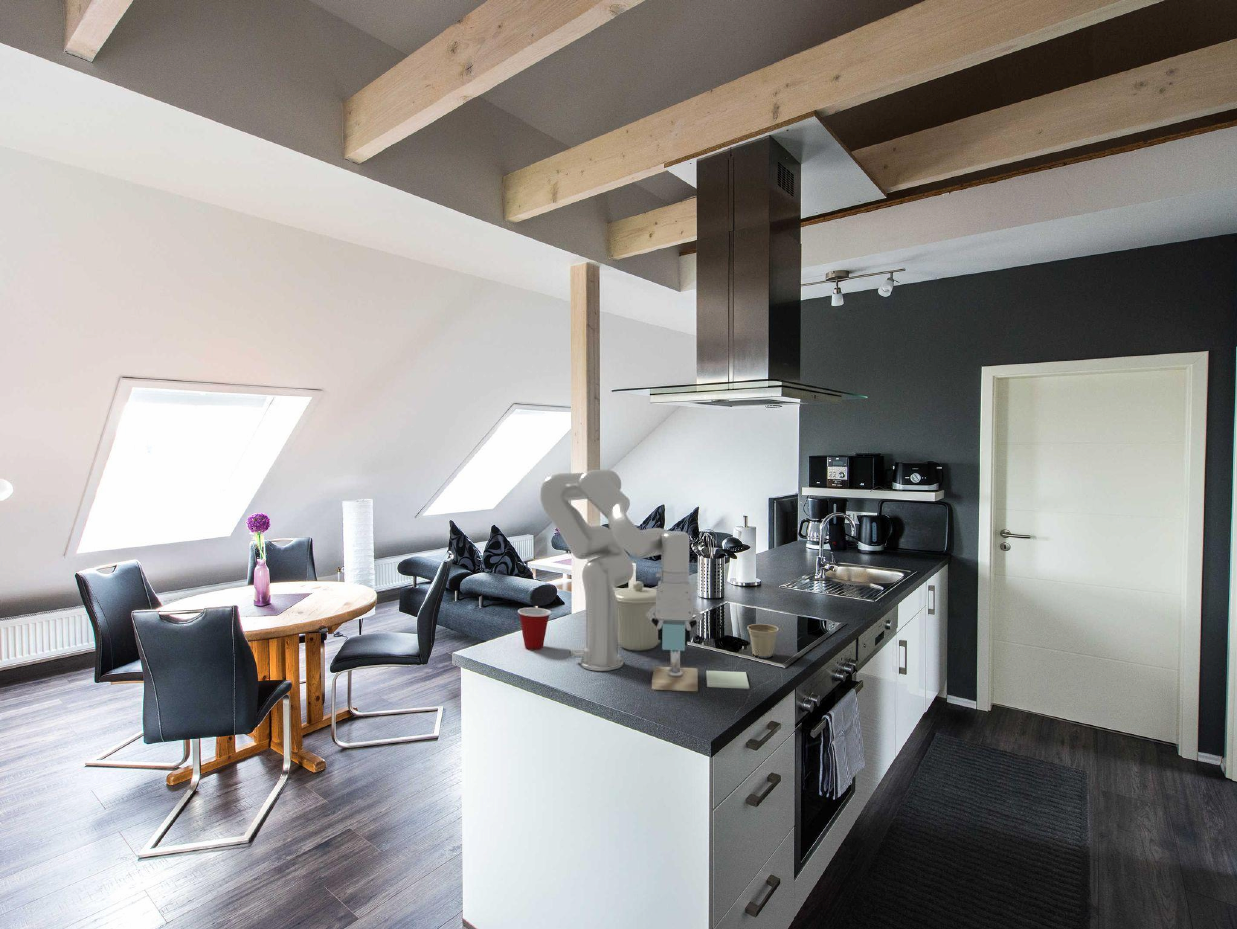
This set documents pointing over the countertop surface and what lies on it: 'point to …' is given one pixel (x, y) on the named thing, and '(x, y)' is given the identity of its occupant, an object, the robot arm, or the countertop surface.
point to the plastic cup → (534, 626)
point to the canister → (636, 617)
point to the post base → (675, 679)
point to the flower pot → (762, 638)
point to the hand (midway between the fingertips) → (673, 642)
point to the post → (675, 664)
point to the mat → (727, 679)
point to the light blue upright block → (673, 635)
